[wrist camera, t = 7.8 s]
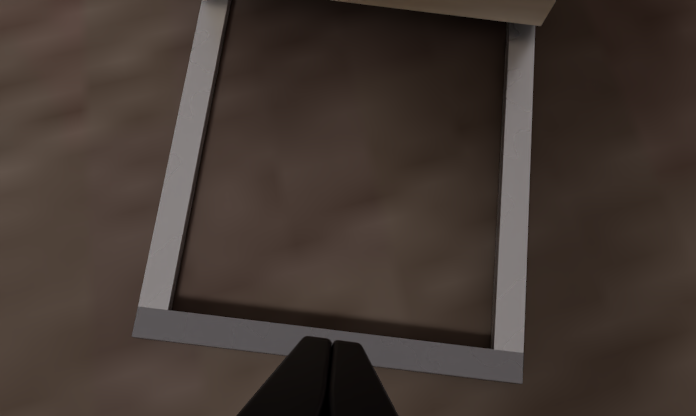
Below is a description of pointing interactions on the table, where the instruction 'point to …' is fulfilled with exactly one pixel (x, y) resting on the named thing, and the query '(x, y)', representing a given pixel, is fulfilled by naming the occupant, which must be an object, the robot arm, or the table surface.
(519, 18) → the toy sofa
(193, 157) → the steel handle
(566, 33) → the table surface
